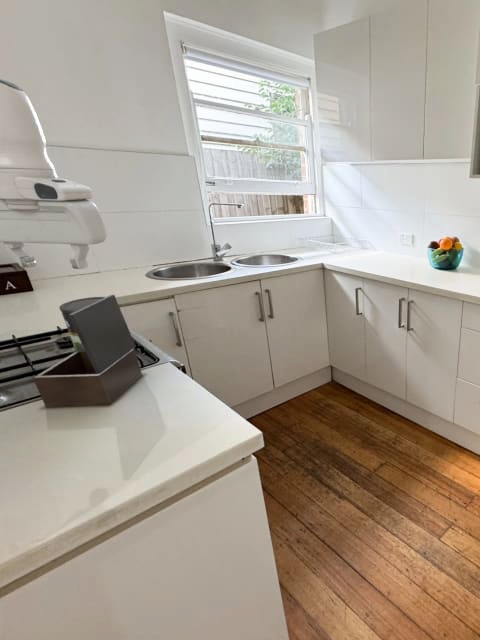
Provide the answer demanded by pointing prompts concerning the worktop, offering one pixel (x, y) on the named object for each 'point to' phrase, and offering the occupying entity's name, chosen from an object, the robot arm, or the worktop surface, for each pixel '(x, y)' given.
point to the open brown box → (86, 381)
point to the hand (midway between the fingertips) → (54, 267)
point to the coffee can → (71, 308)
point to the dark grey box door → (103, 332)
